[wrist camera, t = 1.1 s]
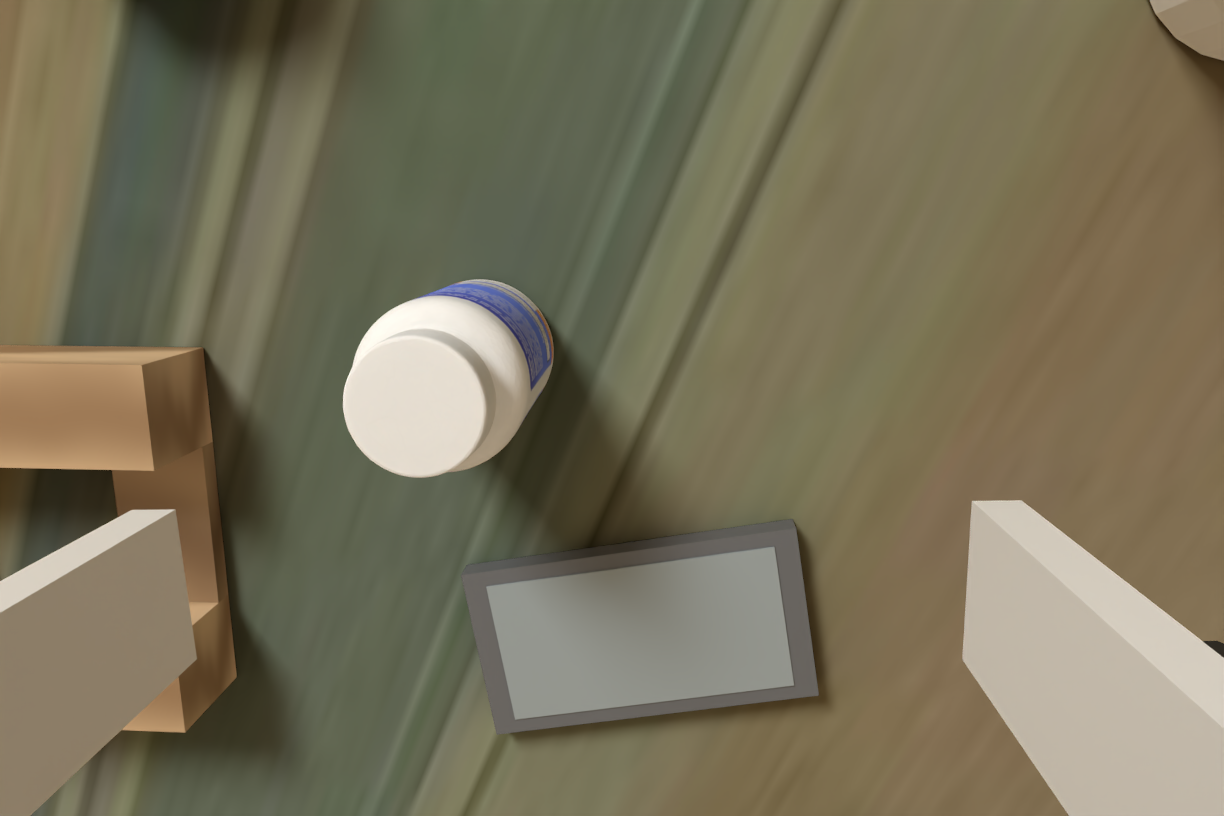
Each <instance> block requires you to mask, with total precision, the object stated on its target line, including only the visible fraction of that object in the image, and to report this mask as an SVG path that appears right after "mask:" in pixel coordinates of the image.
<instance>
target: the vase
mask: <svg viewBox="0 0 1224 816" xmlns="http://www.w3.org/2000/svg"><path fill="white" fill-rule="evenodd" d="M1150 3H1151V5H1152V7H1153V10H1154V12H1155V14H1156V15H1157V17H1158V18H1159V19H1160V20H1161V21H1162V23H1163V24H1164V25H1165V26H1166V27H1167V29H1168V30H1169V31H1170V32H1171V33H1172V34H1173V36H1174V37H1175V38H1176V39H1178V40H1179V41H1181V42H1183V43H1184V44H1186V45H1187V46H1189V47H1190V48H1192V49H1194V50H1195V51H1197V52H1198V53H1200V54H1201V55H1205V56H1209V57H1212V58H1216V59H1219V60H1223V61H1224V0H1150Z"/></svg>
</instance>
